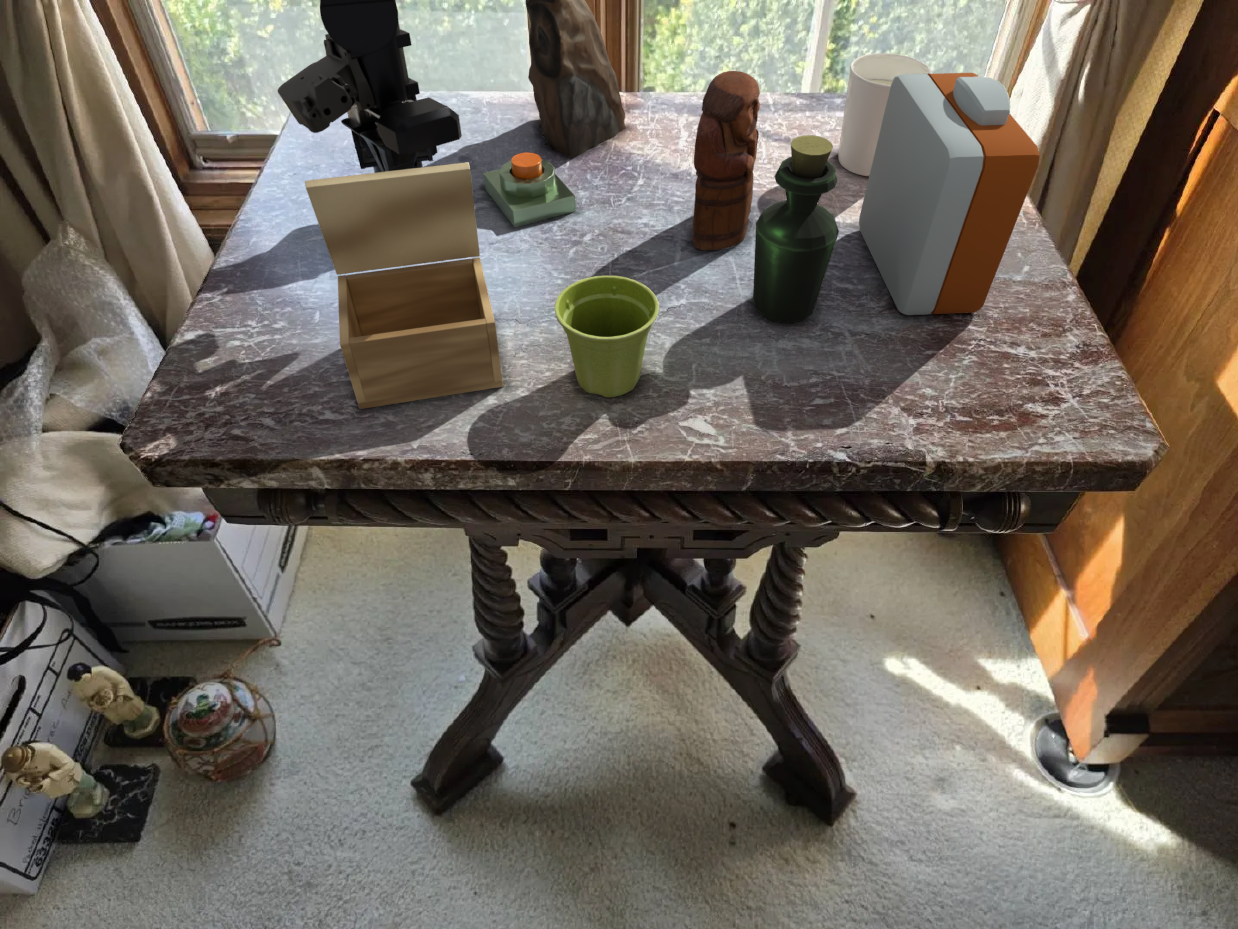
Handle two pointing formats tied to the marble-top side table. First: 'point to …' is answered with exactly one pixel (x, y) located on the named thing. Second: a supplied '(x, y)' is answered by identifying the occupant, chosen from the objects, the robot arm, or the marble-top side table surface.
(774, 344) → the marble-top side table surface
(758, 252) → the potion bottle
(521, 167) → the button
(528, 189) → the button block
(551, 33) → the owl
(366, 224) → the lid
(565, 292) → the plant pot
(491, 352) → the chest
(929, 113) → the alarm clock
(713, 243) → the wooden figurine
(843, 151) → the candle holder
